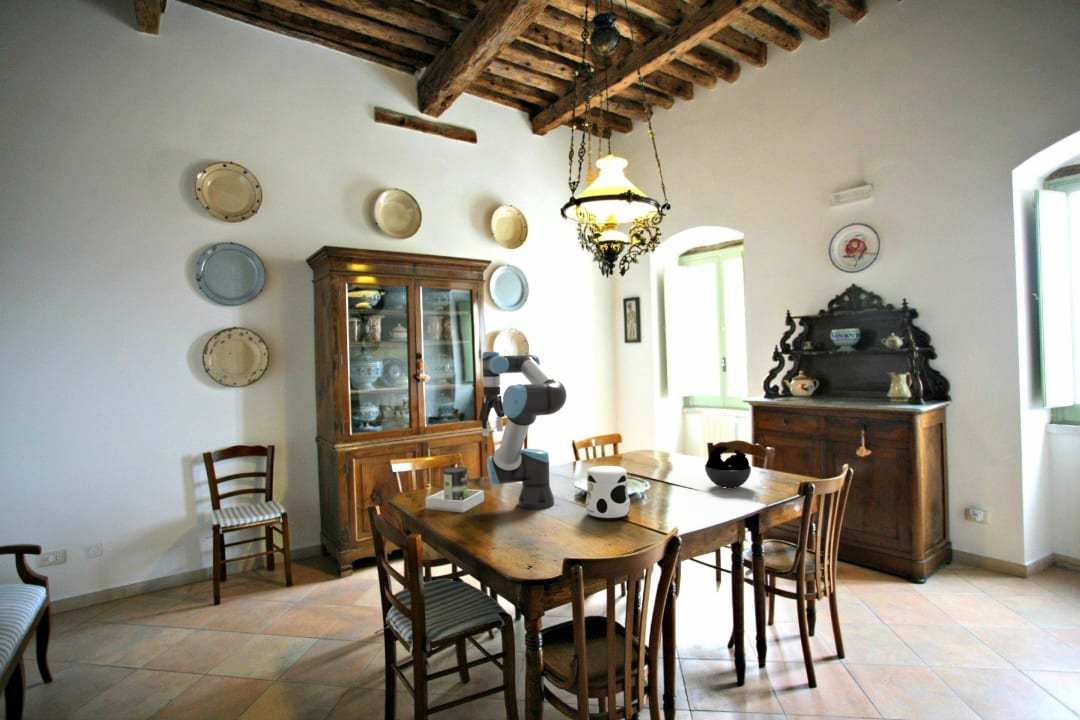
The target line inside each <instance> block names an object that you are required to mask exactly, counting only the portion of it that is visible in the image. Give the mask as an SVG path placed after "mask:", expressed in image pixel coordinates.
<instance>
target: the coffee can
mask: <svg viewBox="0 0 1080 720" xmlns="http://www.w3.org/2000/svg"><path fill="white" fill-rule="evenodd" d="M442 472H443V473H442V475H443V490H444V499H448V500H459V501H462V500H464V499H466V498H468V490H467V489H468V468H467V467H465V466H464V467H462V466H461V467H460V466H457V467H453V466H452V467H448V468H444V469H442Z"/></svg>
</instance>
